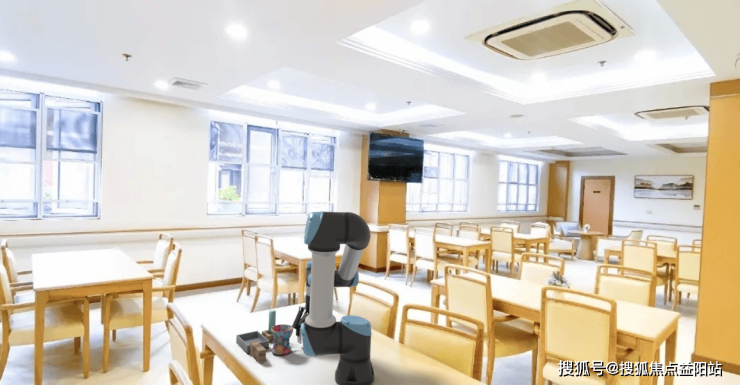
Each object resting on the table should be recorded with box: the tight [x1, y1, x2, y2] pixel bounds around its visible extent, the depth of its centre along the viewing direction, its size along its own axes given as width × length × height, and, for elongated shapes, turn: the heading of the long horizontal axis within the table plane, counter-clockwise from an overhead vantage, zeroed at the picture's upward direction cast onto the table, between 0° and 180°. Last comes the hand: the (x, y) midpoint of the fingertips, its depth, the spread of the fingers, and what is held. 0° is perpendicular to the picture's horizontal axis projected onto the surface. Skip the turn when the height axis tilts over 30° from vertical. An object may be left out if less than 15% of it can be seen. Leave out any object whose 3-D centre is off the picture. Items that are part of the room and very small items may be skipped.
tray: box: [235, 330, 270, 355], centre depth 174 cm, size 14×10×4 cm
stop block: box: [249, 341, 267, 364], centre depth 162 cm, size 10×3×5 cm, turn 37°
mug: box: [271, 323, 294, 356], centre depth 169 cm, size 12×9×11 cm
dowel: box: [267, 310, 277, 334], centre depth 182 cm, size 3×3×13 cm
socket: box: [261, 329, 274, 343], centre depth 182 cm, size 7×7×3 cm
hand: (312, 339), depth 178 cm, fingers open, 13 cm apart
